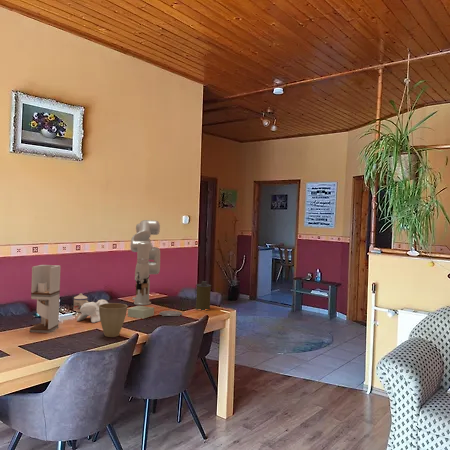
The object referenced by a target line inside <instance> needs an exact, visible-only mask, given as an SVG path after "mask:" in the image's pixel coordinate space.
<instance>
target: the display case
mask: <svg viewBox="0 0 450 450" xmlns="http://www.w3.org/2000/svg"><path fill="white" fill-rule="evenodd" d="M61 266H62V265H58V264H57V265H52V264H39V265H34V266H31V286H30V287H31V288H30V289H31V292H30V299H31V300H36V313H37V314H38V316H39V317H41V319H40V323H38V324H35V325H33V326H31V327H30V328H29V332H30V333H43V334H45V333H46V334H50V333H52V332H54V331H55V330H57V329H59V323H60V322H59V321H60V320H59V319H60V294H61V293H60V292H61V291H60V290H61Z"/></svg>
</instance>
